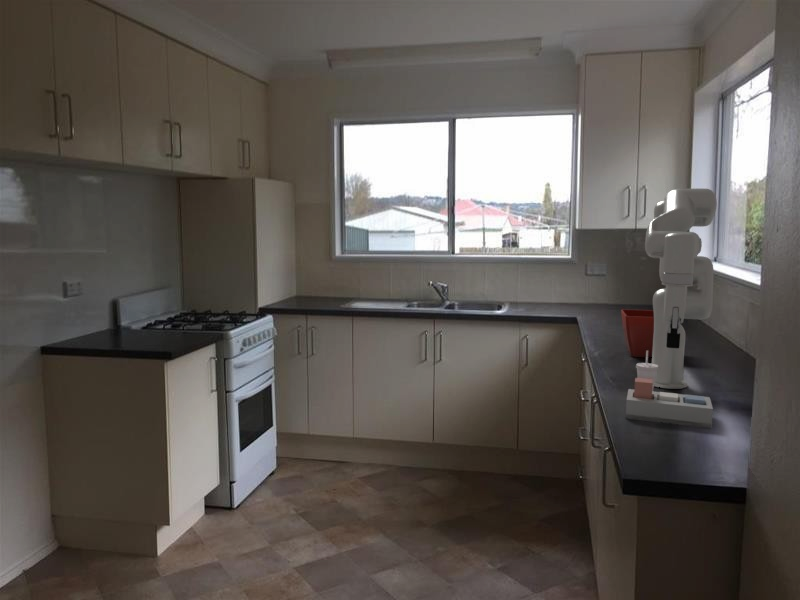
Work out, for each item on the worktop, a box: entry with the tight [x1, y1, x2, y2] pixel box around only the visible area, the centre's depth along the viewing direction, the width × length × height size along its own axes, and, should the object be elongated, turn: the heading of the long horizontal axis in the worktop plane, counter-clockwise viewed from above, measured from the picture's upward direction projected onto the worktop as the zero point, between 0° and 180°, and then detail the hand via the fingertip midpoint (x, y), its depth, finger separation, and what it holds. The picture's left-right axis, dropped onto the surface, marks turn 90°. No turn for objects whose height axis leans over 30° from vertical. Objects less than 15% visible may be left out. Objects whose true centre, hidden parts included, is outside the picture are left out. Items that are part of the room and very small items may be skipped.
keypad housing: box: [625, 388, 714, 429], centre depth 175 cm, size 12×21×5 cm, turn 68°
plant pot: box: [620, 308, 654, 358], centre depth 256 cm, size 19×19×17 cm
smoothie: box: [635, 351, 658, 391], centre depth 195 cm, size 6×6×14 cm
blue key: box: [684, 394, 705, 405], centre depth 173 cm, size 4×4×4 cm
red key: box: [634, 377, 653, 399], centre depth 177 cm, size 4×4×4 cm
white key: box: [659, 391, 679, 402], centre depth 175 cm, size 4×4×4 cm
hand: (672, 347), depth 173 cm, fingers closed
